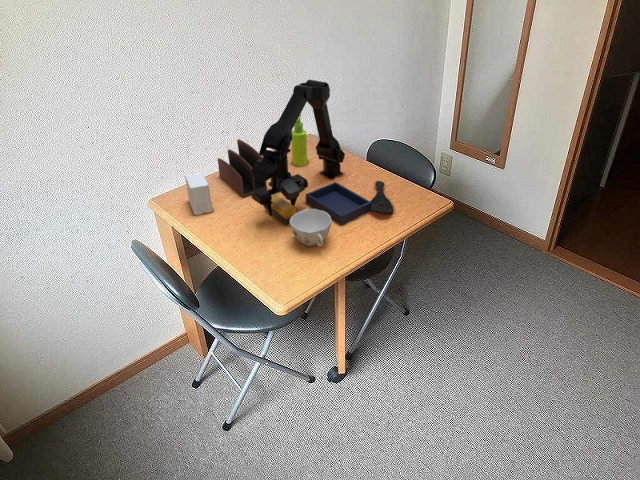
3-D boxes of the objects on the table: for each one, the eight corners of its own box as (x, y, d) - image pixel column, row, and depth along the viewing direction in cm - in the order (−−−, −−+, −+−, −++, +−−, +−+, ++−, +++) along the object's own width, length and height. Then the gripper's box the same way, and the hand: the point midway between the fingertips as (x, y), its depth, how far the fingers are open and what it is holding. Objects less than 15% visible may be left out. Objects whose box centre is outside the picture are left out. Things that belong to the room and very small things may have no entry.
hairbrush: (391, 177, 179) (395, 210, 158) (389, 186, 181) (394, 220, 160) (368, 175, 179) (370, 208, 158) (367, 184, 181) (368, 217, 160)
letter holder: (242, 169, 191) (238, 135, 183) (267, 189, 177) (264, 154, 169) (219, 176, 186) (214, 142, 178) (242, 197, 173) (238, 161, 165)
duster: (265, 210, 165) (264, 198, 163) (277, 205, 168) (276, 193, 165) (286, 225, 158) (285, 212, 155) (298, 220, 160) (298, 207, 158)
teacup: (285, 234, 154) (284, 213, 149) (321, 226, 157) (321, 204, 153) (302, 261, 142) (301, 239, 138) (341, 251, 146) (341, 229, 141)
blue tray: (305, 202, 169) (305, 194, 167) (335, 190, 176) (335, 181, 174) (341, 225, 158) (341, 216, 156) (371, 211, 165) (371, 202, 163)
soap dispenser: (290, 167, 192) (288, 118, 180) (294, 159, 198) (292, 111, 186) (305, 167, 191) (303, 119, 180) (308, 160, 197) (307, 112, 185)
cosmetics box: (213, 211, 165) (209, 184, 159) (194, 215, 163) (189, 188, 157) (207, 197, 173) (202, 171, 167) (188, 201, 171) (183, 174, 165)
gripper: (268, 188, 143) (272, 231, 152) (318, 169, 153) (318, 211, 162) (248, 174, 150) (253, 217, 159) (296, 157, 160) (298, 198, 169)
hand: (281, 211), depth 162 cm, fingers open, 9 cm apart
